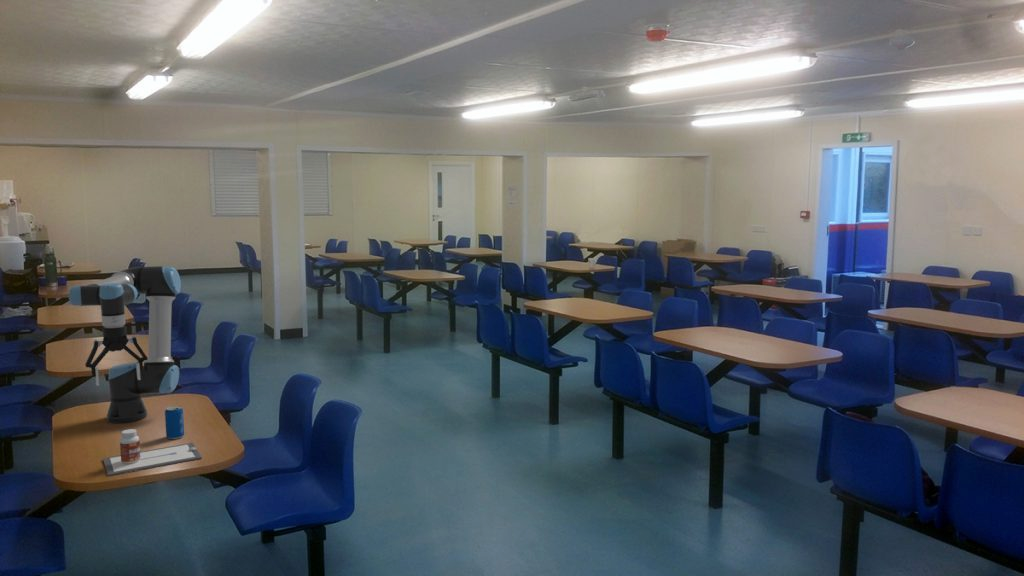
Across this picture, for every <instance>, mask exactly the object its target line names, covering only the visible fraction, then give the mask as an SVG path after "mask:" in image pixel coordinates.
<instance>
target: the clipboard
mask: <svg viewBox="0 0 1024 576" xmlns="http://www.w3.org/2000/svg"><path fill="white" fill-rule="evenodd" d="M202 459H203V458H202V456H201V454H200V452H199V451H198V449H197V447H196V446H195V445H194V443H193V442H188V443H184V444H183V443H182V444H177V445H171V446H166V447H160V448H159V447H158V448H154V449H147V450H142V451H140V460H139V461H138V462H135V463H131V464H124V463H122V462H121V454H119V455H113V456H108V457H103V459H102V461H103V464H104V467H105V471H106V473H107V476H108V477H112V476H116V475H122V473H123V474H126V473H125V472H128V473H131V472H130V471H134V472H136V471H135V470H139V471H143V470H142V469H144V470H149V468H150V469H154V468H159V467H160V468H161V467H166V466H170V465H176V464H181V463H186V462H191V461H197V460H202Z"/></svg>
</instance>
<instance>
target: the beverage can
mask: <svg viewBox="0 0 1024 576" xmlns="http://www.w3.org/2000/svg"><path fill="white" fill-rule="evenodd" d="M164 417H165V418H164V420H165V421H164V422H165V433H166V434H165V435H166V436H165V437H166V438H168V439H169V440H178V439H181V438H183V436H185V424H184V423H185V422H184V408H182V406H181V405H170V406H168V407H165V411H164Z"/></svg>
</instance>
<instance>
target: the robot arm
mask: <svg viewBox="0 0 1024 576" xmlns="http://www.w3.org/2000/svg"><path fill="white" fill-rule="evenodd" d="M181 289H182V281H181V277H180V274H179V272H178V270H177V269H176V267H173V266H164V265H163V266H160V265H159V266H134V267H130V268H126V269H123V270H119V271H118V272H115V273H113V274H112V275H111V276H110V277H107V278H103V279H102V280H99V281H96V282H93V283H90V284H87V285H74V286H71V288H70V289H69V291H68V300H69V301H68V302H69V303H70V304H71V305H72V306H74V307H76V306H77V307H85V306H86V307H87V306H88V307H89V306H92V307H93V306H100V309H101V311H100V313H101V324H102V335H103V336H102V337H103V339H102V340H94V341H93V347H92V349H91V351H90V353H89V355H88V357H87V359H86V362H85V363H84V364H85V365H84V366H85V368H90V371H91V376H92V377H94V378H95V384H96V386H97V387H98V386H100V379H99V368H98V365H99V363H100V362H101V361H102V359H104V357H105V356H106V355H107V354H108V353H109V352H120V351H122V350H124V351H125V352H127V353H128V354H129V355H130V356H132V357H133V359H135V360H136V361H132V362H130V361H129V362H125V363H120V364H116V365H115V366H113V367H111V368H110V369H109V370H108V385H109V386H108V387H109V398H110V401H109V402H110V403H109V406H108V409H107V413H106V421H107V422H109V423H112V424H125V423H132V422H137V421H141V420H143V419H146V418H147V417H148V410H147V408H146V406H145V403H144V400H143V399H142V394H143V395H146V394H147V395H149V394H150V395H153V394H159V395H161V394H170V393H172V392H174V391H175V389H176V388H177V386H178V383H179V378H180V368H179V366H178V365H176V364H175V360H174V359H172V357H171V349H172V348H171V347H172V345H171V343H172V303H173V301H174V300H175V299H176V298H177V297H176V295H177V294H180V292H181ZM138 294H139V295H140V294H141V295H145V299H146V300H148V301H149V304H148V305H149V309H148V310H149V311H148V312H149V314H148V348H147V350H148V352H147V355H146V354H145V352H144V351H143V349H142V348H141V346H140V345H139V343H138V340H137V337H136V336H133V335H132V337H128V336H127V326H126V313H125V306H128V305H130V304H132V303H133V302H134V301H136V300H137V297H138ZM129 342H130V343H131V344H133V345H134V347H135V348H136V350H137V351H138V352H139V354H140V356H141V357H140V356H139V355H138V354H137V353H135V352H134V351H133V350H132V349H130V347H128V346H127V344H128V343H129ZM101 345H103V346H104V348H103V349H102V350H101V352H100V353H99V354H98V356H97V357H96V358H95V360H94V361H93V359H94V357H95V355H96V353H97V351H98V348H100V347H101ZM92 361H93V362H92Z"/></svg>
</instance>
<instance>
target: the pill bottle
mask: <svg viewBox="0 0 1024 576" xmlns="http://www.w3.org/2000/svg"><path fill="white" fill-rule="evenodd" d="M140 445H141V444H140V436H138V433H137V429H135V428H134V429H133V428H130V429H125V430H121V438H120V440H119V449H120V451H119V452H120V455H121V462H122V463H124V464H131V463H135V462H138V461H139V460H140V452H141V446H140Z"/></svg>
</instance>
